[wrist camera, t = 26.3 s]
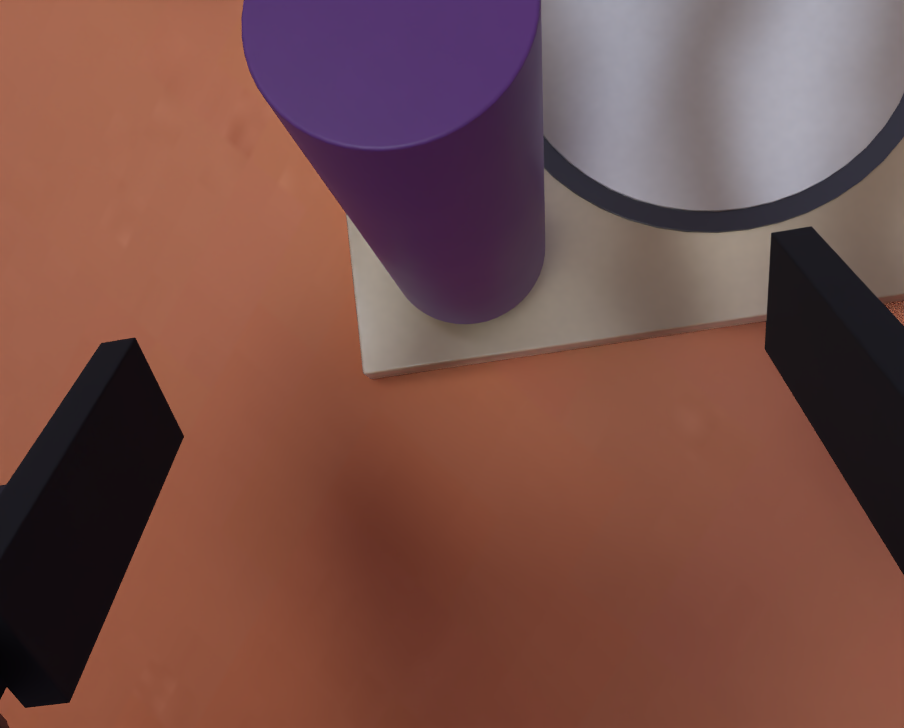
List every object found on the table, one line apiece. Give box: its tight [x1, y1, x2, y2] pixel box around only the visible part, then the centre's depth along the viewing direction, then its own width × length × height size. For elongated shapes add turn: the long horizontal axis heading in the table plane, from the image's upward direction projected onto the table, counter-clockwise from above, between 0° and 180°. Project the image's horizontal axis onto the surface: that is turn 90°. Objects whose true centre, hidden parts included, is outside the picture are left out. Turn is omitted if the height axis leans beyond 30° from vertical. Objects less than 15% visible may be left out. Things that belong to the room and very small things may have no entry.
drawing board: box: [346, 0, 904, 379], centre depth 24 cm, size 20×18×1 cm
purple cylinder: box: [242, 0, 545, 324], centre depth 17 cm, size 4×4×12 cm
